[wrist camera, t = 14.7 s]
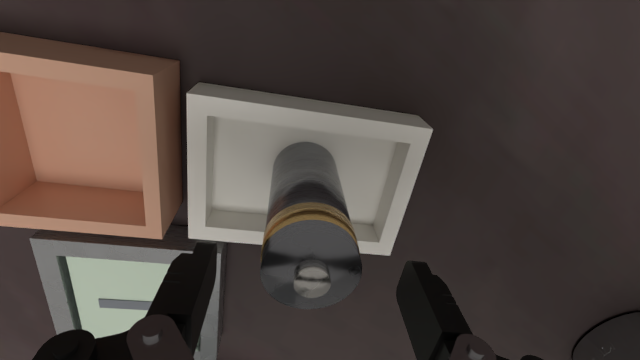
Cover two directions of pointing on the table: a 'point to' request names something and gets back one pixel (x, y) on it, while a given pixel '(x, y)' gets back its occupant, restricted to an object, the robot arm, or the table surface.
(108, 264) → the plate
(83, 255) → the grey square slotted tray
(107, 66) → the dish
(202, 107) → the trough
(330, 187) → the cell
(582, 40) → the table surface
